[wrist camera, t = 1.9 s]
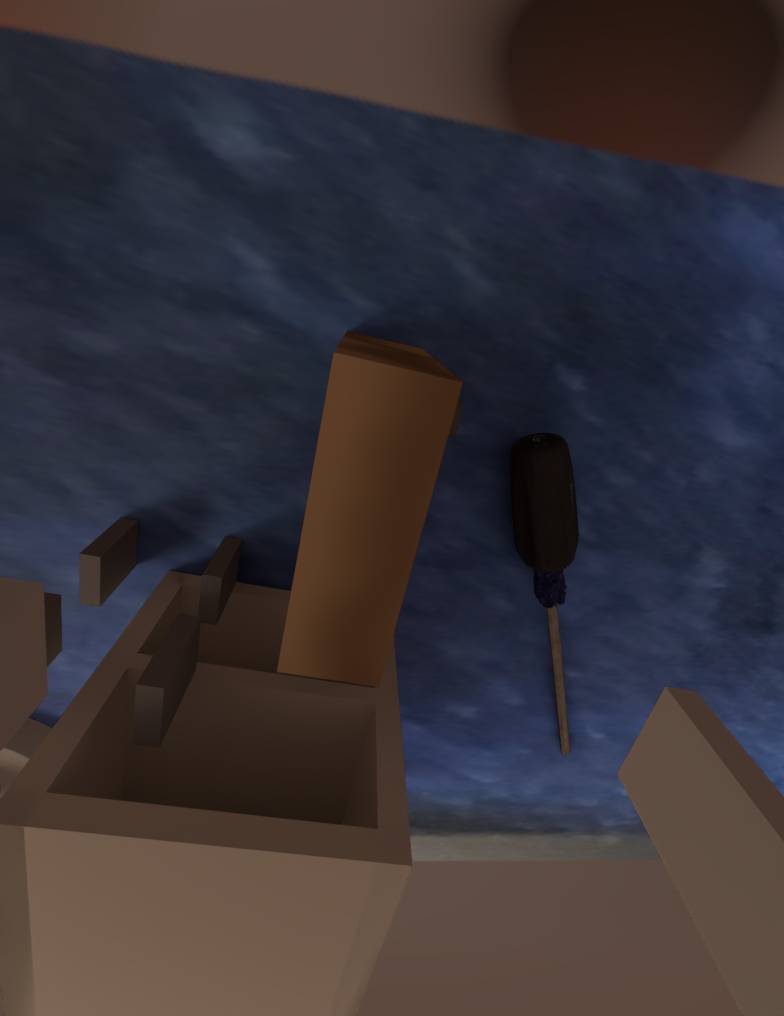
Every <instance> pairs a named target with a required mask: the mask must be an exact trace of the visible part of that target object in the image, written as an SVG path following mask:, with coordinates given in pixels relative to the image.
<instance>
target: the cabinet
mask: <svg viewBox="0 0 784 1016" xmlns="http://www.w3.org/2000/svg"><path fill="white" fill-rule="evenodd" d="M137 540H138V521H137V520H131V519H126V518H119V519H118V520H117V521H116V522H115V523H114V524H113V525H111V526H110V527H109V528H108V529H107V530H106V531H105V532H104V533H102V534H101V535H100V536H99V537H98V538H97V539H96V540H94V541H93V542H92V543H91V544H90V545H89V546H88V547H86V548H85V549H84V550H83V551H82V552H81V553H80V554H79V561H80V604H84V605H91V606H97V607H100V606H101V605H102V604H103V603H104V602H105V600H106V599H107V598H108V597H109V596H110V595H111V594H112V592H113V591H114V590H115V589H116V588H117V587H118V586H119V584H120V583H121V582H122V581H123V580H124V579H125V578H126V576H127V575H128V574H129V573H130V572H131V571H132V570H133V568H134V567H135V566H136V563H137ZM241 544H242V539H237V538H232V537H226V536H225V538H224V539H223V541H222V542H221V544H220V546H219V547H218V549H217V551H216V552H215V554H214V556H213V557H212V559H211V561H210V562H209V564H208V566H207V567H206V569H205V571H204V572H203V574H202V576H199V575H193V574H187V573H181V572H175V571H168V572H167V573H166V575H165V576H164V578H163V579H162V580H161V582H160V583H159V584H158V586H157V587H156V588H155V590H154V591H153V592H152V594H151V595H150V597H149V598H148V599H147V601H146V602H145V603H144V605H143V606H142V607H141V609H140V610H139V611H138V613H137V614H136V616H135V617H134V618H133V620H132V621H131V622H130V624H129V625H128V626H127V628H126V629H125V630H124V632H123V633H122V635H121V636H120V637H119V639H118V640H117V641H116V643H115V644H114V645H113V647H112V648H111V649H110V651H109V652H108V654H107V655H106V656H105V658H104V659H103V660H102V662H101V663H100V664H99V666H98V667H97V668H96V670H95V671H94V673H93V674H92V675H91V677H90V678H89V679H88V681H87V682H86V683H85V685H84V686H83V687H82V689H81V690H80V692H79V693H78V694H77V696H76V697H75V698H74V700H73V701H72V702H71V704H70V705H69V706H68V708H67V709H66V711H65V712H64V713H63V715H62V716H61V717H60V719H59V720H58V721H57V723H56V724H55V725H54V727H53V728H52V730H51V731H50V732H49V734H48V735H47V736H46V738H45V739H44V740H43V742H42V743H41V744H40V746H39V747H38V749H37V750H36V751H35V753H34V754H33V755H32V757H31V758H30V759H29V761H28V762H27V763H26V765H25V766H24V768H23V769H22V770H21V772H20V773H19V774H18V776H17V777H16V778H15V780H14V781H13V782H12V784H11V785H10V787H9V788H8V789H7V791H6V792H5V793H4V795H3V796H2V797H1V799H0V982H1V990H2V1000H3V1009H4V1016H357V1014H358V1011H359V1009H360V1006H361V1003H362V1001H363V998H364V995H365V993H366V990H367V987H368V984H369V982H370V979H371V976H372V974H373V971H374V968H375V965H376V963H377V960H378V957H379V955H380V952H381V949H382V947H383V944H384V941H385V938H386V935H387V933H388V930H389V928H390V925H391V922H392V919H393V917H394V914H395V911H396V908H397V906H398V903H399V901H400V898H401V895H402V892H403V890H404V887H405V884H406V881H407V879H408V876H409V873H410V871H411V868H412V857H411V844H410V832H409V819H408V807H407V794H406V782H405V769H404V756H403V744H402V731H401V719H400V706H399V694H398V681H397V669H396V656H395V644H394V635H393V638H392V642H391V646H390V649H389V653H388V656H387V660H386V664H385V667H384V671H383V675H382V678H381V682H380V685H379V687H377V686H370V685H363V684H356V683H349V682H342V681H336V680H329V679H322V678H315V677H308V676H301V675H295V674H288V673H281V672H277V668H278V663H279V657H280V651H281V646H282V640H283V635H284V629H285V623H286V618H287V612H288V607H289V601H290V595H291V591H288V590H282V589H276V588H270V587H264V586H258V585H252V584H246V583H240V582H237V575H238V567H239V560H240V552H241ZM44 607H45V633H46V660H47V667H48V666H49V664H50V663H51V662H52V661H53V660H54V659H55V658H56V656H57V655H58V654H59V653H60V652H61V651H62V619H61V595H58V594H51V593H45V592H44Z"/></svg>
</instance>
